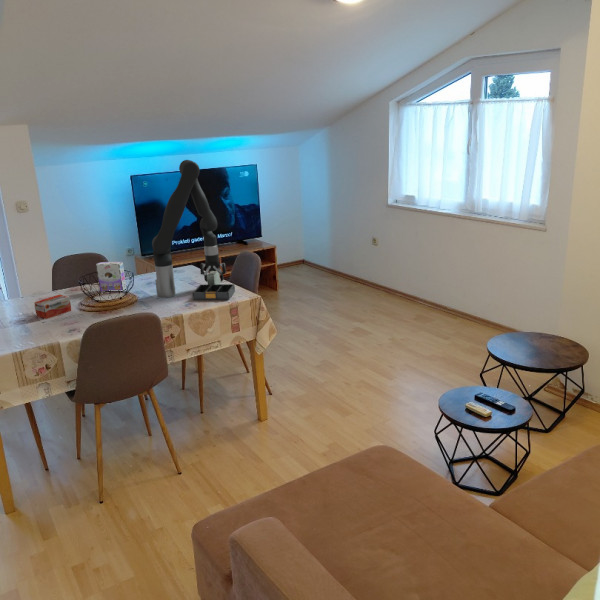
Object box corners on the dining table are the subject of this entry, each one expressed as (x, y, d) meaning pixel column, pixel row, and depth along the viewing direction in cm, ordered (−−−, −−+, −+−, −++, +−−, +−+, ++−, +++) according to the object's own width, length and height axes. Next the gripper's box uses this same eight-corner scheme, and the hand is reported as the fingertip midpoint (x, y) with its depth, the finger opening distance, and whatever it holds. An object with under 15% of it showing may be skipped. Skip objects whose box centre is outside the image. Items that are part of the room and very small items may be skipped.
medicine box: (45, 319, 286) (43, 304, 284) (36, 317, 291) (33, 302, 288) (72, 310, 298) (69, 296, 296) (62, 308, 302) (60, 294, 300)
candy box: (126, 289, 333) (123, 261, 328) (123, 292, 327) (119, 263, 322) (103, 289, 334) (99, 261, 329) (99, 292, 329) (95, 264, 324)
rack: (193, 300, 307) (192, 292, 305) (201, 291, 321) (200, 284, 320) (228, 300, 305) (228, 292, 303) (234, 291, 319) (234, 283, 318)
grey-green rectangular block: (208, 291, 323) (206, 275, 320) (213, 284, 334) (212, 269, 331) (215, 290, 322) (213, 275, 320) (220, 284, 334) (218, 269, 331)
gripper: (197, 255, 319) (200, 283, 324) (222, 254, 317) (225, 283, 322) (200, 252, 326) (203, 279, 331) (225, 251, 325) (228, 279, 330)
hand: (214, 281), depth 327 cm, fingers open, 8 cm apart
